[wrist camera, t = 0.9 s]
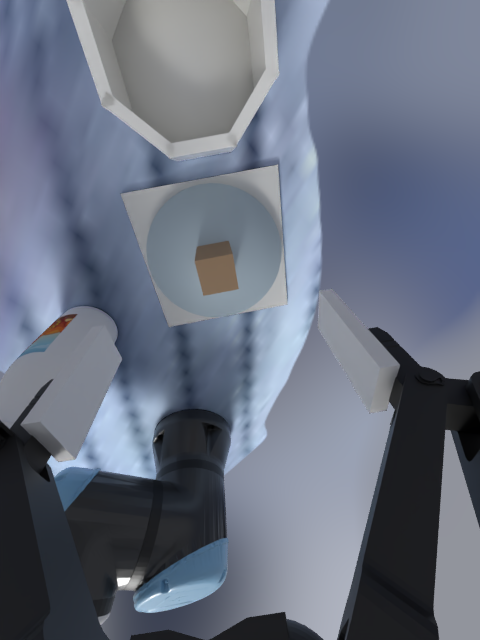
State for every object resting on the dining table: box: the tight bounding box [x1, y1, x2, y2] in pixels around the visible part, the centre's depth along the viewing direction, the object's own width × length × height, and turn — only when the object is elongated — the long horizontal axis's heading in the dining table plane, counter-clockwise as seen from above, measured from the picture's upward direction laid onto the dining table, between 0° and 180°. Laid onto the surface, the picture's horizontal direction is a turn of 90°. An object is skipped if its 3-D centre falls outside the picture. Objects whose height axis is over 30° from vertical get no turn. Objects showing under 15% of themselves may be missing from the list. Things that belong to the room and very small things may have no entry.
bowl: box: [66, 0, 280, 162], centre depth 21 cm, size 14×14×7 cm
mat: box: [121, 165, 287, 327], centre depth 33 cm, size 18×18×1 cm
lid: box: [146, 183, 281, 317], centre depth 30 cm, size 17×17×7 cm
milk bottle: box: [0, 306, 118, 429], centre depth 28 cm, size 8×8×20 cm
